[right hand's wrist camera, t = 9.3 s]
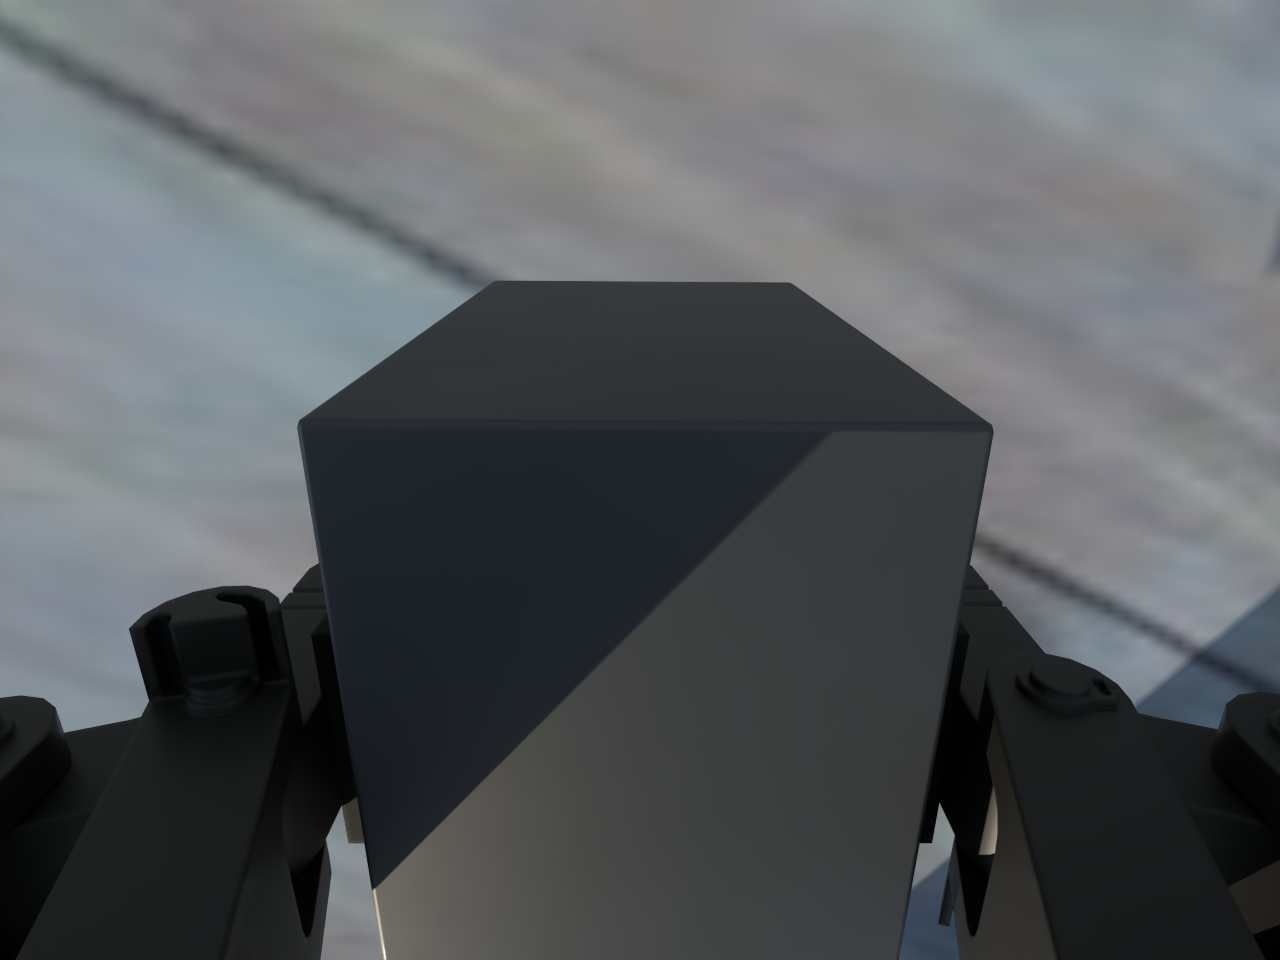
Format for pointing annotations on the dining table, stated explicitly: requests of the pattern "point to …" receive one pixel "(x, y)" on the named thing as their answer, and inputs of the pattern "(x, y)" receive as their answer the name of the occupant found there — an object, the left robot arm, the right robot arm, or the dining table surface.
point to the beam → (643, 622)
